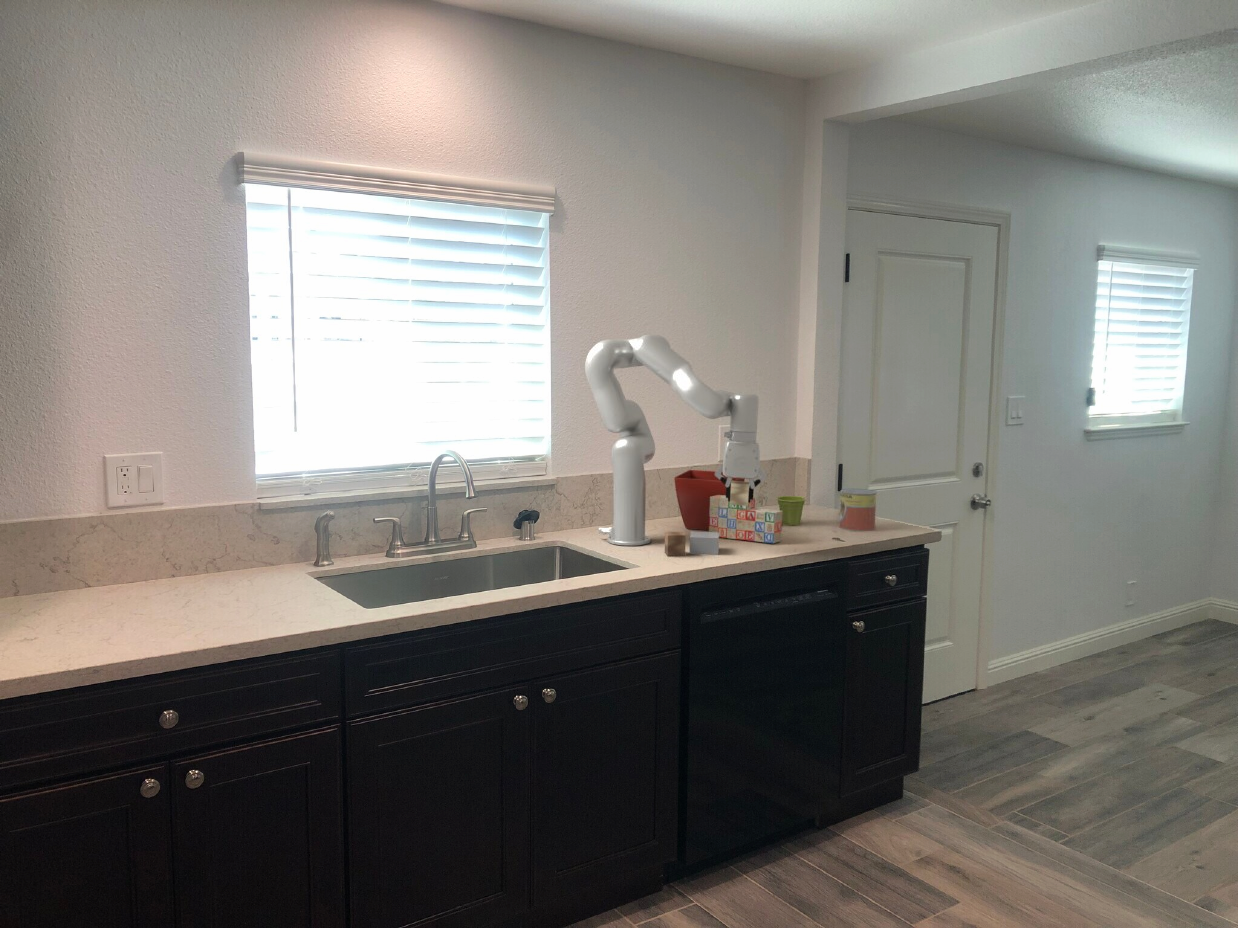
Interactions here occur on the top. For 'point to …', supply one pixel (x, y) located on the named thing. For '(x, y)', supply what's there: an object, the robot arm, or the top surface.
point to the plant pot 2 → (791, 509)
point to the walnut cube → (675, 544)
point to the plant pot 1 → (698, 496)
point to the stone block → (704, 543)
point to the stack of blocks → (744, 521)
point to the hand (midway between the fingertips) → (739, 500)
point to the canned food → (857, 510)
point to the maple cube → (739, 493)
